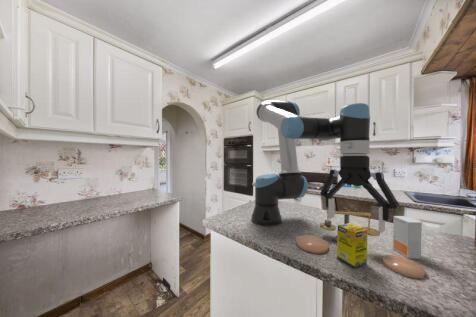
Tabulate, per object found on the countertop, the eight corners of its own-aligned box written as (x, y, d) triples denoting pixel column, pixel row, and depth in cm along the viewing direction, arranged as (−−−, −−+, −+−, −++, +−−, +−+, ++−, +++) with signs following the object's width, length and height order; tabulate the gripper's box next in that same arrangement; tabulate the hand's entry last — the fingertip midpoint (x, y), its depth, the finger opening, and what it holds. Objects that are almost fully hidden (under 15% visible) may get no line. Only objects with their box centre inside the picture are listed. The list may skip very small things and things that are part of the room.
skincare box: (392, 248, 62) (392, 215, 61) (404, 248, 62) (404, 215, 61) (408, 258, 56) (409, 222, 55) (421, 259, 56) (422, 222, 55)
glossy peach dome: (378, 265, 52) (378, 261, 52) (387, 255, 58) (387, 251, 58) (422, 283, 45) (422, 278, 45) (427, 269, 50) (427, 265, 50)
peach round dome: (290, 243, 65) (290, 240, 65) (306, 235, 72) (306, 232, 71) (318, 257, 56) (318, 254, 56) (334, 247, 63) (334, 243, 63)
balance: (316, 235, 72) (317, 203, 71) (324, 231, 75) (324, 201, 75) (376, 259, 55) (377, 217, 55) (382, 252, 59) (382, 213, 59)
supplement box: (355, 269, 50) (355, 232, 50) (336, 258, 56) (336, 224, 56) (367, 264, 53) (368, 229, 53) (348, 254, 58) (348, 222, 58)
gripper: (310, 155, 61) (309, 215, 61) (407, 154, 41) (407, 243, 41) (320, 155, 66) (320, 211, 66) (413, 154, 45) (413, 234, 46)
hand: (354, 223), depth 53 cm, fingers open, 13 cm apart
